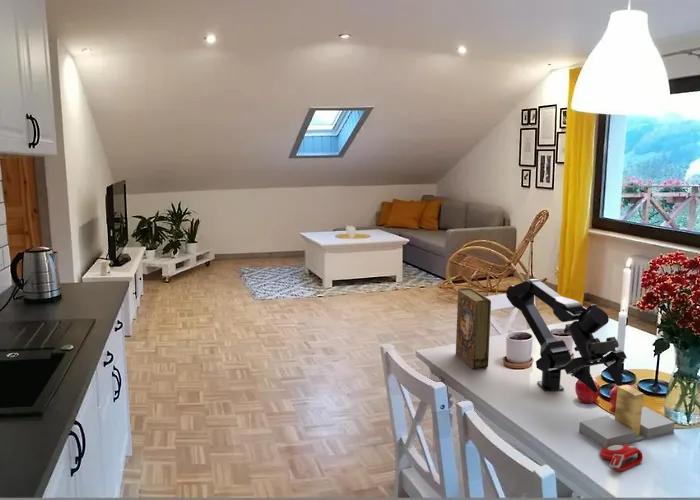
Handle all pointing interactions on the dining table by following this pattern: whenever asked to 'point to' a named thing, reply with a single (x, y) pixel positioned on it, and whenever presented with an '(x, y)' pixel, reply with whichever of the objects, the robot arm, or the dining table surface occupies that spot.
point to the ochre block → (629, 407)
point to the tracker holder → (621, 456)
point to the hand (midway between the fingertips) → (609, 389)
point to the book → (473, 328)
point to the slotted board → (625, 429)
